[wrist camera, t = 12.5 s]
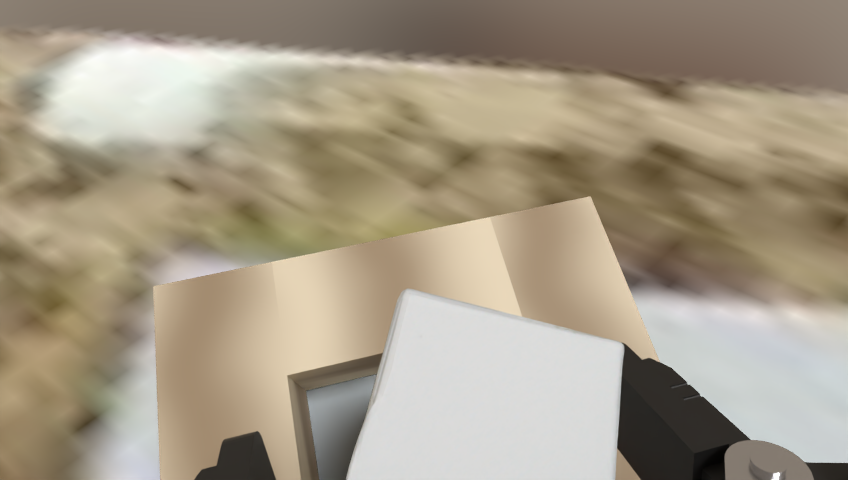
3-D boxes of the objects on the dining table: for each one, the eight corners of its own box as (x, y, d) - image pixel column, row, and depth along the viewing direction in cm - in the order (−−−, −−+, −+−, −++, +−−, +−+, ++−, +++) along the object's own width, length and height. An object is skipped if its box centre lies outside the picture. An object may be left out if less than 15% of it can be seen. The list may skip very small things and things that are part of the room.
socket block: (564, 234, 23) (590, 196, 20) (734, 675, 17) (812, 724, 13) (191, 314, 21) (153, 286, 18) (227, 851, 15) (177, 956, 11)
